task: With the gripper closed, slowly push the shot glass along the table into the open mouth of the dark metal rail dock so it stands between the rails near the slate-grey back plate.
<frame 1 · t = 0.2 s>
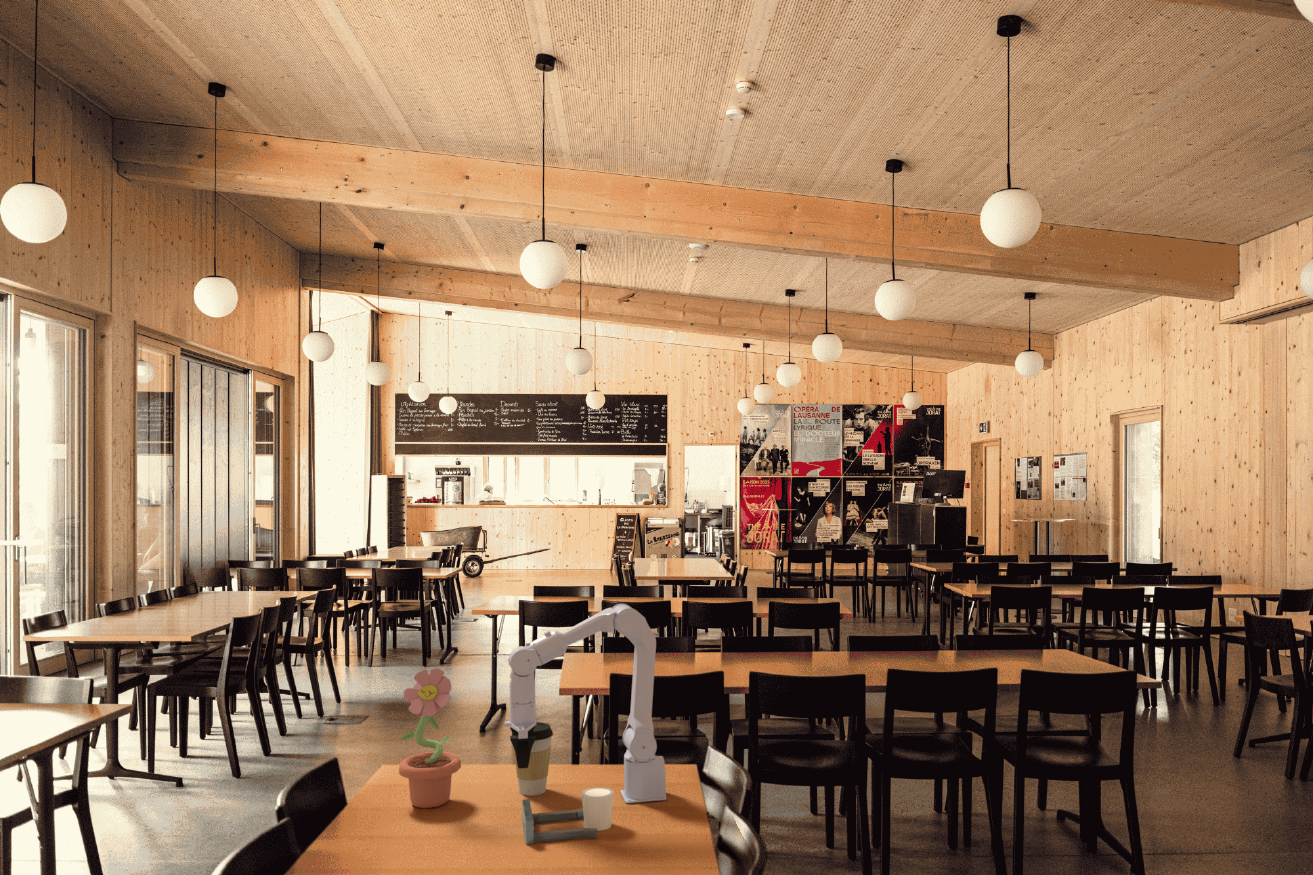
hand: (522, 762, 198), 10 cm above the table, tool pointing down, fingers open, 7 cm apart
glass dock: (555, 829, 185), on the table
coffee cup: (532, 791, 209), on the table
shot glass: (597, 826, 187), on the table
decorative flower: (427, 803, 202), on the table
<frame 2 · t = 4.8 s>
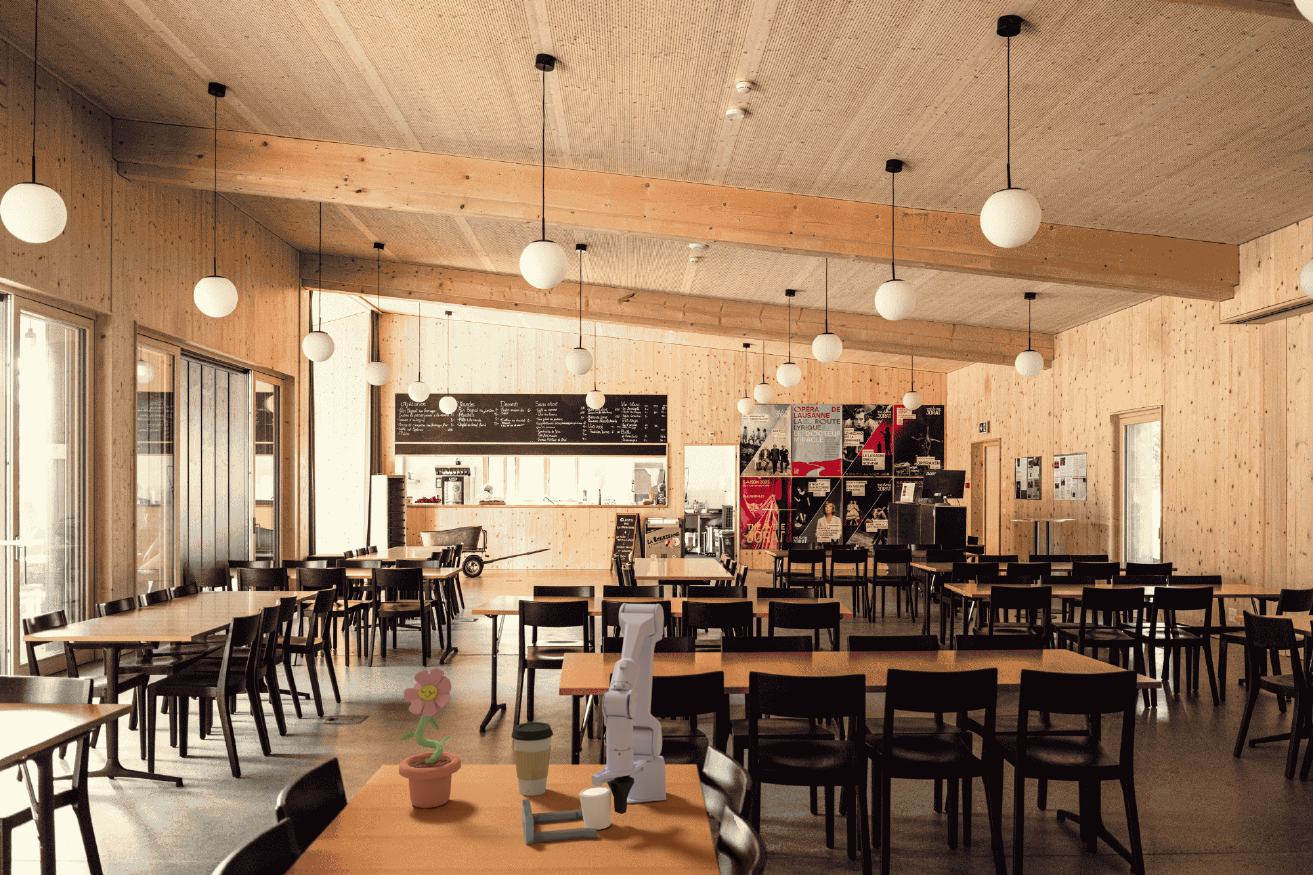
hand: (620, 812, 188), 2 cm above the table, tool pointing down, fingers closed, pressing on shot glass
shot glass: (597, 825, 187), on the table, touching gripper
everything else where it was.
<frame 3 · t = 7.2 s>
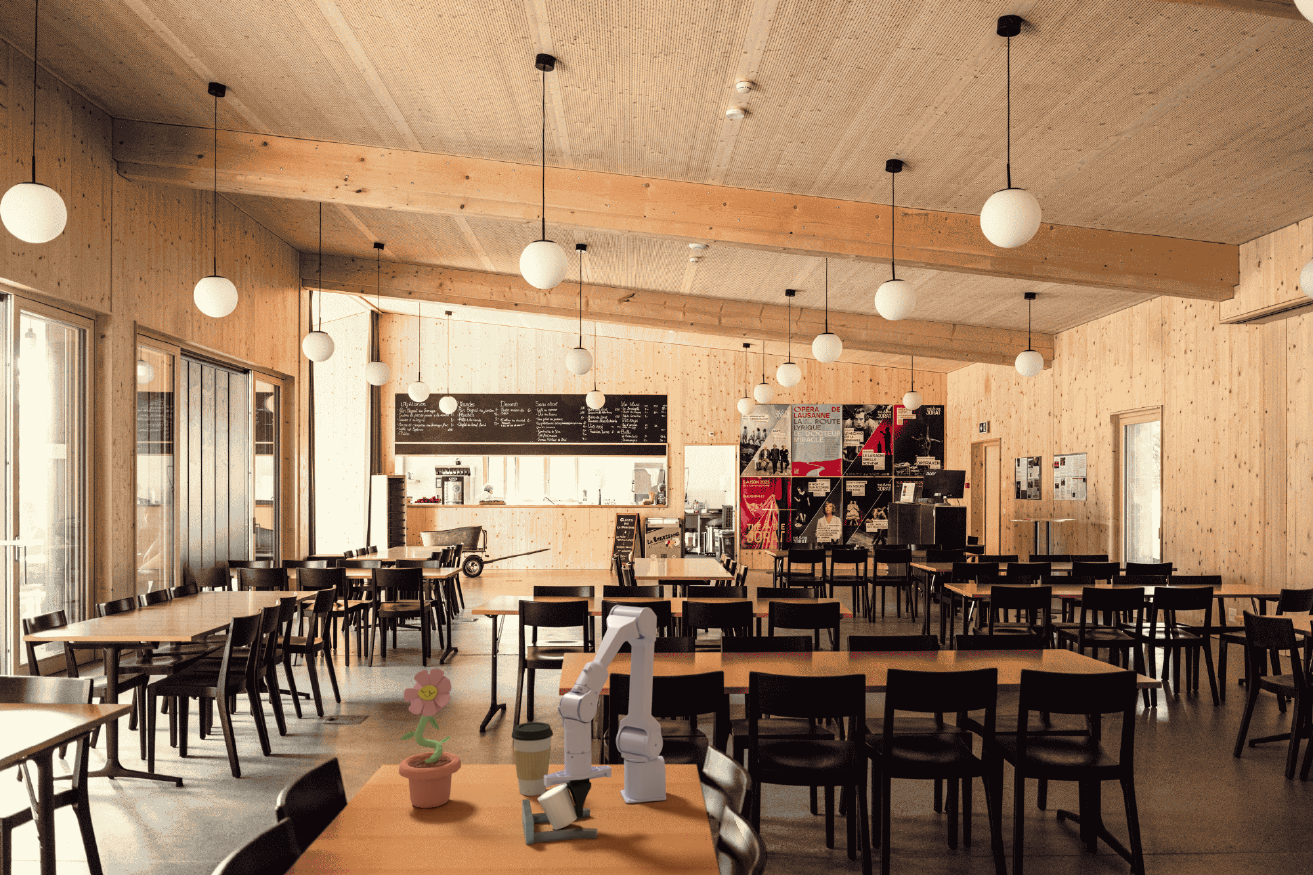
hand: (578, 815, 186), 2 cm above the table, tool pointing down, fingers closed, pressing on shot glass
shot glass: (566, 823, 186), point 1 cm above the table, touching gripper
everything else where it was.
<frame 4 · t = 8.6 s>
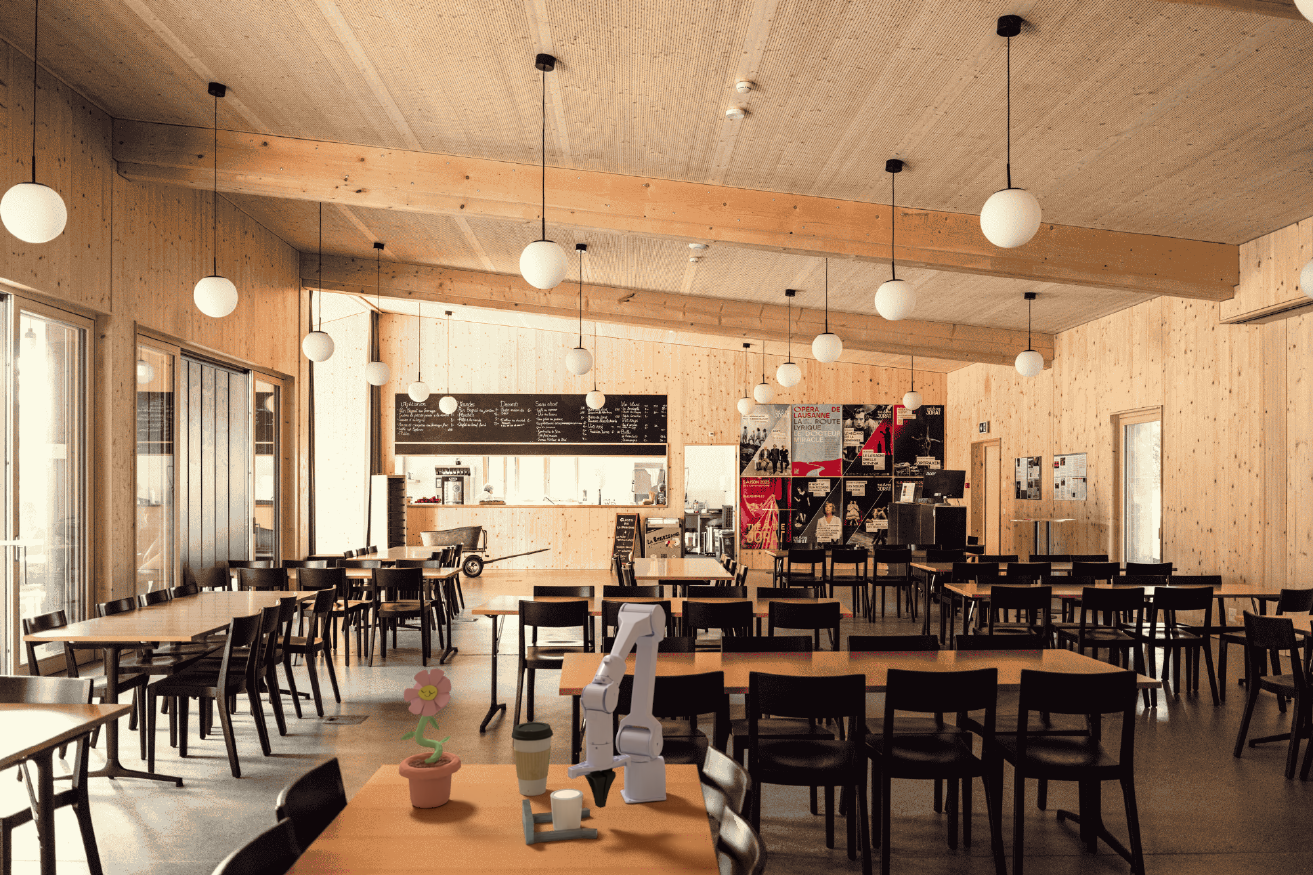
hand: (600, 805, 187), 4 cm above the table, tool pointing down, fingers closed
shot glass: (566, 828, 186), on the table
everything else where it was.
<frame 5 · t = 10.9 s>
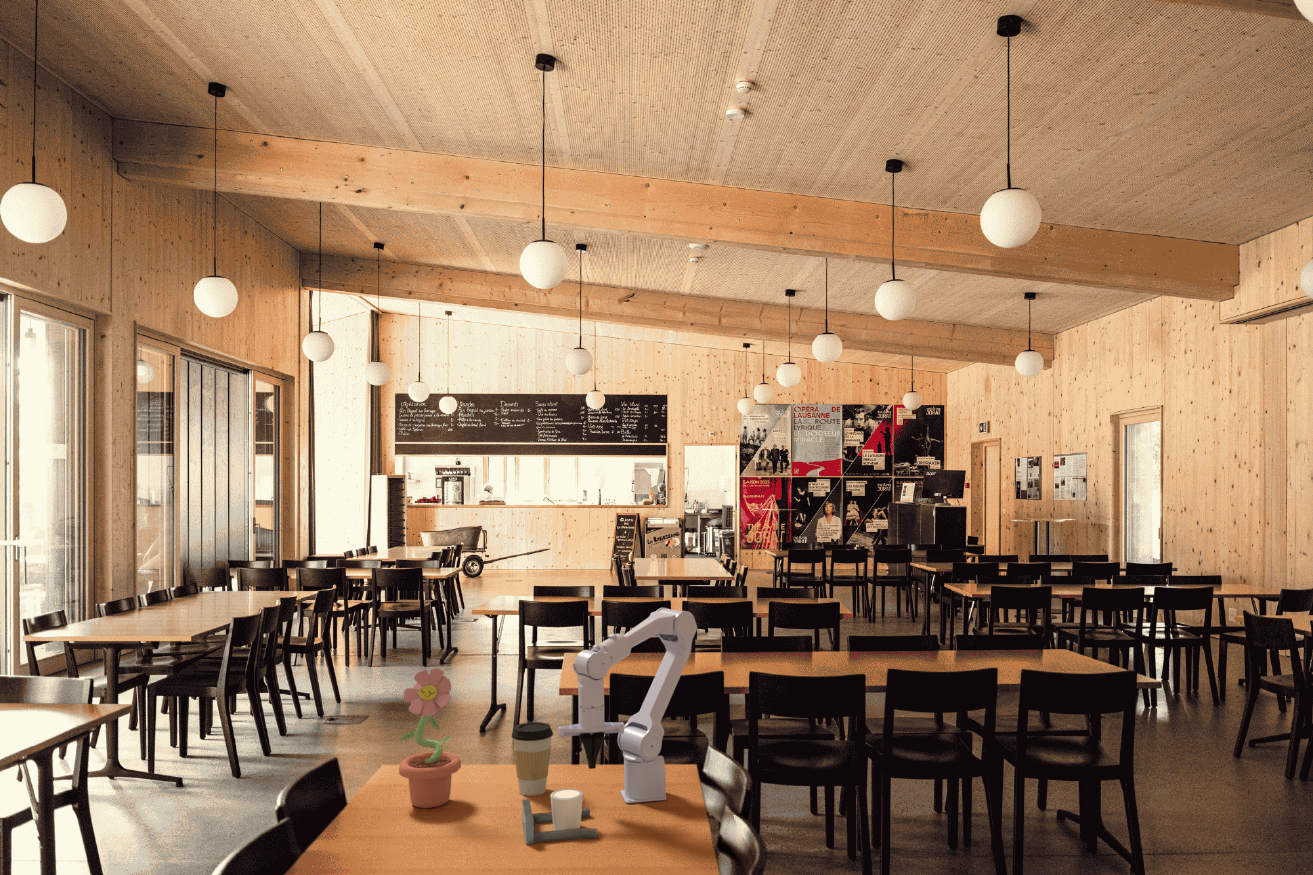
hand: (591, 767, 196), 9 cm above the table, tool pointing down, fingers closed
nothing on the table moved.
at the end: shot glass 2.8 cm off-centre on the glass dock, point 0.0 cm above the glass dock's base; shot glass tilted 0° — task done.
